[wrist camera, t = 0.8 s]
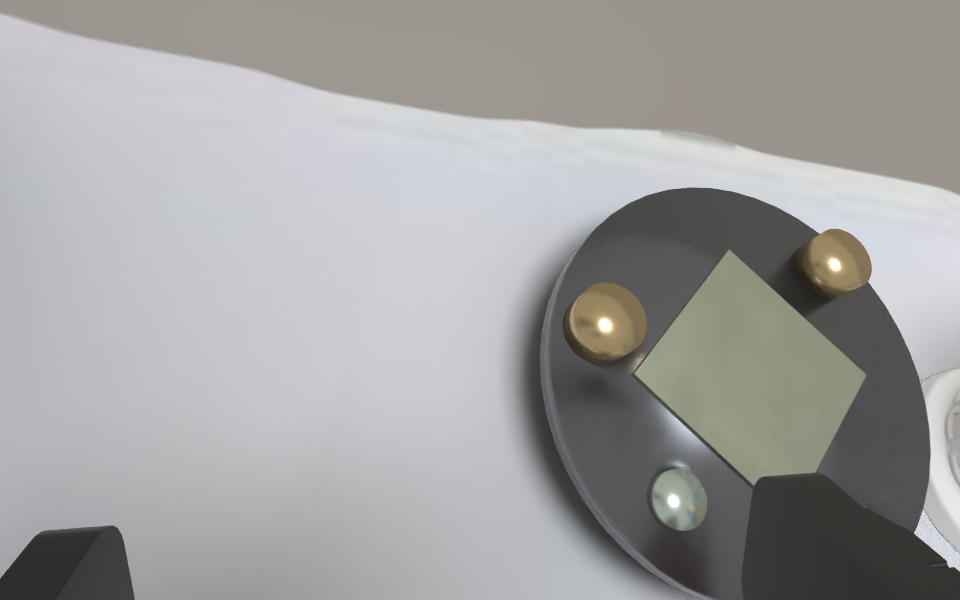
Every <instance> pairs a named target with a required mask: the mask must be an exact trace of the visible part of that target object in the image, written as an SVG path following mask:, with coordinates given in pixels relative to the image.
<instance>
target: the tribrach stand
mask: <svg viewBox="0 0 960 600" xmlns="http://www.w3.org/2000/svg"><path fill="white" fill-rule="evenodd" d="M871 271H872V267H871V261H870V258H869V255H868V253H867V251H866V249H865V248H864V246H863V245H862V244H861V243H860V242H859V241H858V240H857V239H856V238H855V237H854V236H853V235H851V234H850V233H848V232H846V231H843V230H840V229H829V230H827V231H825V232H823V233H822V234H819V233H818V232H816V231H815V230H813V229H812V228H810V227H809V226H807V225H806V224H804V223H803V222H801V221H800V220H799V219H797V218H795V217H793V216H792V215H790V214H788V213H786V212H784V211H782V210H781V209H779V208H777V207H775V206H772V205H770V204H768V203H765V202H763V201H760V200H758V199H755V198H752V197H749V196H746V195H742V194H739V193H735V192H731V191H725V190H718V189H712V188H681V189H672V190H666V191H662V192H658V193H655V194H651V195H647V196H645V197H643V198H640V199H638V200H636V201H634V202H631V203H629V204H627V205H626V206H624V207H623V208H621V209H620V210H618V211H616V212H615V213H613V214H612V215H610V216H609V217H608V218H607V219H606V220H605V221H604V222H603V223H602V224H601V225H599V226H598V227H597V228H596V229H595V230H594V231H593V232H592V233H591V234H590V235H589V236H588V237H587V238H586V239H585V240H584V242H583V243H582V244H581V245H580V246H579V247H578V249H577V250H576V251H575V252H574V254H573V255H572V256H571V257H570V259H569V260H568V261H567V263H566V265H565V267H564V268H563V270H562V272H561V274H560V275H559V277H558V279H557V281H556V283H555V286H554V288H553V291H552V294H551V296H550V299H549V301H548V304H547V309H546V313H545V318H544V322H543V327H542V335H541V346H540V374H541V387H542V393H543V399H544V405H545V411H546V416H547V419H548V422H549V426H550V429H551V433H552V436H553V439H554V443H555V445H556V448H557V450H558V452H559V455H560V457H561V459H562V462H563V464H564V466H565V469H566V471H567V473H568V475H569V477H570V478H571V480H572V482H573V484H574V485H575V487H576V489H577V491H578V493H579V494H580V496H581V498H582V500H583V501H584V502H585V504H586V505H587V507H588V508H589V509H590V511H591V512H592V513H593V515H594V516H595V518H596V519H597V520H598V522H599V523H600V524H601V526H602V527H603V528H604V529H605V530H606V531H607V532H608V533H609V534H610V536H611V537H612V538H613V539H614V540H615V541H616V542H617V543H618V544H619V545H620V546H621V547H622V548H623V550H625V551H626V552H627V553H628V554H629V555H630V556H632V557H633V558H634V559H635V560H636V561H638V562H639V563H640V564H641V565H642V566H643V567H645V568H646V569H647V570H648V571H650V572H651V573H653V574H654V575H656V576H658V577H659V578H661V579H662V580H664V581H665V582H667V583H668V584H670V585H672V586H673V587H675V588H677V589H679V590H681V591H683V592H685V593H688V594H690V595H692V596H694V597H696V598H698V599H700V600H744V597H743V591H742V583H741V574H742V565H743V558H744V550H745V543H746V535H747V528H748V520H749V513H750V506H751V498H752V492H753V488H754V485H755V483H756V482H757V480H758V479H759V478H761V477H765V476H776V475H789V474H802V473H815V472H817V473H821V474H823V475H825V476H827V477H828V478H829V479H830V480H832V481H833V482H834V483H835V484H836V485H837V486H839V487H840V488H841V489H842V490H843V491H844V492H846V493H847V494H848V495H849V496H850V497H851V498H852V499H854V500H855V501H856V502H857V503H858V504H859V505H861V506H862V507H863V508H868V509H869V510H871V511H873V512H875V513H877V514H879V515H881V516H883V517H885V518H887V519H888V520H890V521H892V522H894V523H896V524H898V525H900V526H902V527H904V528H906V529H907V530H909V531H911V532H912V533H914V532H915V530H916V528H917V525H918V522H919V519H920V516H921V513H922V510H923V507H924V504H925V499H926V493H927V488H928V483H929V474H930V458H931V449H930V430H929V422H928V416H927V410H926V404H925V399H924V395H923V392H922V388H921V384H920V380H919V377H918V374H917V371H916V368H915V366H914V363H913V360H912V357H911V355H910V352H909V350H908V348H907V346H906V344H905V341H904V339H903V337H902V335H901V333H900V331H899V329H898V327H897V325H896V324H895V322H894V320H893V318H892V317H891V315H890V313H889V312H888V310H887V308H886V306H885V305H884V304H883V302H882V301H881V299H880V298H879V296H878V295H877V294H876V292H875V291H874V289H873V288H872V287H871V285H870V284H869V283H868V280H869V279H870V276H871Z"/></svg>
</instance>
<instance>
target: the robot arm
mask: <svg viewBox="0 0 960 600" xmlns="http://www.w3.org/2000/svg"><path fill="white" fill-rule="evenodd" d="M741 583H742V591H743V597H744V600H960V572H959V571H958V570H957V569H956V568H955V567H952V568H949V567H948V565H947V561H946V560H945V559H944V558H942V557H941V556H940V555H939V554H938V553H936V552H935V551H934V550H933V549H932V548H930V547H929V546H928V545H927V544H926V543H924V542H923V541H922V540H921V539H920V538H918V537H917V536H916V535H915V534H914V533H912V532H911V531H909V530H907V529H906V528H904V527H902V526H900V525H898V524H896V523H894V522H892V521H890V520H888V519H887V518H885V517H883V516H881V515H879V514H877V513H875V512H873V511H871V510H869V509H868V508H863V507H862V506H861V505H859V504H858V503H857V502H856V501H855V500H854V499H852V498H851V497H850V496H849V495H848V494H847V493H846V492H844V491H843V490H842V489H841V488H840V487H839V486H837V485H836V484H835V483H834V482H833V481H832V480H830V479H829V478H828V477H827V476H825V475H823V474H821V473H817V472H815V473H802V474H789V475H776V476H765V477H761V478H759V479H758V480H757V482H756V483H755V485H754V488H753V492H752V498H751V506H750V513H749V520H748V528H747V535H746V543H745V550H744V558H743V565H742V574H741ZM0 600H135V599H134V593H133V588H132V583H131V577H130V572H129V567H128V561H127V556H126V551H125V546H124V541H123V537H122V535H121V533H120V531H119V529H117V528H116V527H115V526H99V527H86V528H74V529H61V530H48V531H43V532H40V533H39V534H37V535H36V536H35V537H34V538H33V539H32V540H31V542H30V543H29V544H28V545H27V547H26V548H25V549H24V550H23V552H22V553H21V554H20V555H19V556H18V558H17V559H16V560H15V561H14V563H13V564H12V565H11V566H10V568H9V569H8V570H7V571H6V572H5V574H4V575H3V576H2V577H1V579H0Z"/></svg>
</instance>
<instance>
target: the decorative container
mask: <svg viewBox="0 0 960 600" xmlns="http://www.w3.org/2000/svg"><path fill="white" fill-rule="evenodd" d="M921 388H922V392H923V395H924V399H925V404H926V410H927V416H928V422H929V430H930V449H931V458H930V474H929V483H928V488H927V493H926V499H925V504H924V507H923V509H924V510H925V512H926V513H927V515H928V516H929V518H930V519H931V521H932V523H933V524H934V526H935V527H936V529H937V530H938V531H939V532H940V533H941V534H942V535H943V536H944V537H945V538H946V539H947V541H948V542H949V543H950V544H951V545H952V546H953V547H954V548H955V549H956V550H957V551H958V552H960V368H958V369H954V370H950V371H946V372H943V373H939V374H936V375H933V376H931V377H930V378H928V379H927V380H925V381H924V382H922V383H921Z"/></svg>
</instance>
